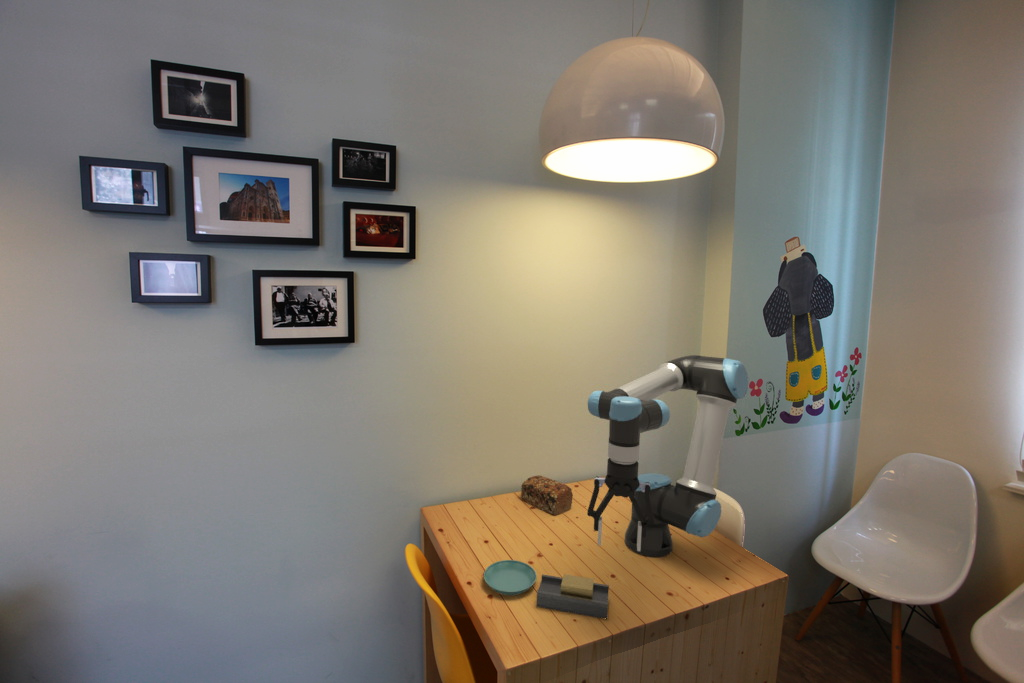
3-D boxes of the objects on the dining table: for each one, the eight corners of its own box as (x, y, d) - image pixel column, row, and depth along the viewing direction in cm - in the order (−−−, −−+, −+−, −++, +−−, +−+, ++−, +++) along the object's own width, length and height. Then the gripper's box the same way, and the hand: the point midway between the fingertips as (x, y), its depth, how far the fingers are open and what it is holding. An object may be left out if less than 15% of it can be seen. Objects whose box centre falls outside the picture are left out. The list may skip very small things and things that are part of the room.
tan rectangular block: (593, 589, 121) (593, 578, 121) (592, 601, 117) (592, 590, 116) (563, 584, 123) (563, 574, 123) (560, 596, 118) (561, 585, 118)
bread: (572, 509, 175) (573, 484, 174) (553, 518, 168) (554, 491, 167) (538, 493, 189) (539, 470, 188) (519, 500, 182) (520, 476, 181)
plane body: (608, 599, 122) (608, 585, 122) (607, 619, 115) (608, 604, 114) (541, 588, 126) (542, 574, 126) (536, 606, 119) (536, 592, 118)
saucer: (476, 574, 133) (477, 565, 132) (523, 564, 138) (523, 556, 138) (493, 606, 119) (494, 596, 119) (545, 593, 124) (545, 584, 124)
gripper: (667, 459, 116) (662, 544, 118) (580, 450, 121) (577, 532, 123) (670, 469, 108) (665, 560, 110) (577, 459, 113) (574, 546, 115)
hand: (618, 545), depth 116 cm, fingers open, 9 cm apart
